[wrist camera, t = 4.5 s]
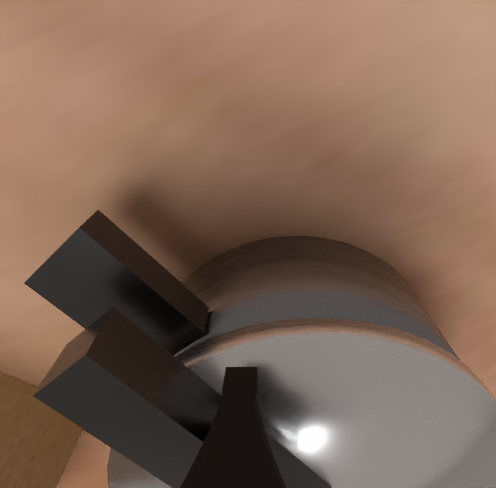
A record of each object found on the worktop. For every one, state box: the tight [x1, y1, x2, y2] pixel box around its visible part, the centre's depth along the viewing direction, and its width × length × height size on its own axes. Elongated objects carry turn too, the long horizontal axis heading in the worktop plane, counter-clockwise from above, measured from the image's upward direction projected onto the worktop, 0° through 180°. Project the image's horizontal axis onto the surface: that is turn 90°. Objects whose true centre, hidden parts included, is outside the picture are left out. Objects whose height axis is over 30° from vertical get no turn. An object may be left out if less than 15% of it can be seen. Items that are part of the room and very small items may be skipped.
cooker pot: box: [25, 210, 459, 359], centre depth 16 cm, size 19×14×6 cm
